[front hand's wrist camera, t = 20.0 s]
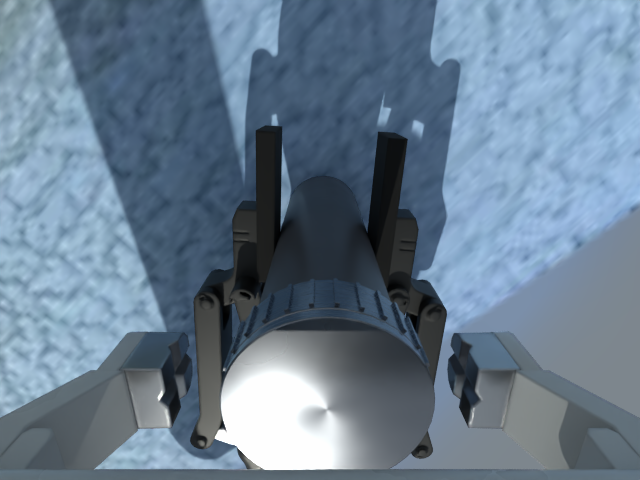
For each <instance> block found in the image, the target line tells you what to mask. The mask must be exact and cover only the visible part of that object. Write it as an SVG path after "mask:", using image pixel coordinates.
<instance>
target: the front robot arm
mask: <svg viewBox="0 0 640 480" xmlns="http://www.w3.org/2000/svg"><path fill="white" fill-rule="evenodd" d="M188 347H189V341H188V335H187V334H186V333H183V332H130V333H127V334H126V335H125V336H124V338H123V339H122V340H121V341H120V343H119V344H118V345H117V346H116V347H115V349H114V350H113V351H112V352H111V354H110V355H109V356H108V357H107V358H106V360H105V361H104V362H103V363H102V364H101V366H100V367H99V368H98V369H97V370H91V371H89V372H87V373H85V374H83V375H81V376H79V377H77V378H75V379H73V380H71V381H70V382H68V383H66V384H64V385H62V386H60V387H58V388H56V389H54V390H52V391H51V392H49V393H47V394H45V395H43V396H41V397H39V398H37V399H35V400H33V401H31V402H30V403H28V404H26V405H24V406H22V407H20V408H18V409H16V410H14V411H12V412H11V413H9V414H7V415H5V416H3V417H1V418H0V480H640V418H639V417H637V416H635V415H633V414H631V413H629V412H627V411H625V410H623V409H622V408H620V407H618V406H616V405H614V404H612V403H610V402H608V401H606V400H605V399H603V398H601V397H599V396H597V395H595V394H593V393H591V392H589V391H587V390H585V389H584V388H582V387H580V386H578V385H576V384H574V383H572V382H570V381H568V380H567V379H565V378H563V377H561V376H559V375H557V374H555V373H553V372H551V371H549V370H543V369H542V368H541V367H540V366H539V364H538V363H537V362H536V361H535V360H534V359H533V357H532V356H531V355H530V354H529V352H528V351H527V350H526V349H525V348H524V346H523V345H522V344H521V343H520V341H519V340H518V339H517V338H516V337H515V335H514V334H513V333H511V332H490V333H454V334H453V336H452V340H451V347H452V349H453V351H454V354H453V355H452V356H451V357H450V358H449V360H448V369H447V370H448V380H449V384H450V388H451V390H452V392H453V394H454V395H455V396H456V397H458V398H459V399H460V405H459V408H460V410H461V412H462V415H463V417H464V419H465V421H466V423H467V426H468V428H492V429H502V431H503V432H505V433H506V434H507V435H508V436H509V437H510V438H511V439H513V440H514V441H515V442H516V443H517V444H518V445H519V446H521V447H522V448H523V449H524V450H525V451H526V452H527V453H528V454H530V455H531V456H532V457H533V458H534V459H535V460H536V461H538V462H539V463H540V464H541V465H542V466H543V467H544V468H546V469H95V468H96V467H97V466H98V465H99V464H100V463H101V462H103V461H104V460H105V459H106V458H107V457H108V456H109V455H111V454H112V453H113V452H114V451H115V450H116V449H117V448H119V447H120V446H121V445H122V444H123V443H124V442H125V441H126V440H128V439H129V438H130V437H131V436H132V435H133V434H134V433H136V432H137V431H138V429H147V428H172V426H173V424H174V421H175V419H176V417H177V415H178V413H179V410H180V408H181V405H180V399H181V398H182V397H184V396H185V395H186V394H187V392H188V390H189V388H190V384H191V379H192V359H191V358H190V357H189V356H188V355H187V354H186V351H187V349H188Z"/></svg>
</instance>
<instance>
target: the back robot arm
mask: <svg viewBox="0 0 640 480" xmlns="http://www.w3.org/2000/svg"><path fill="white" fill-rule="evenodd" d="M407 140H408V139H407V138H404V137H402V136H400V135H398V134H396V133H390V132H378V139H377V148H376V157H375V167H374V176H373V186H372V195H371V204H370V214H369V223H368V233H367V234H368V237H369V240H370V243H371V246H372V249H373V252H374V255H375V257H376V260H377V263H378V266H379V269H380V272H381V275H382V278H383V281H384V284H385V287H386V289H387V292H388V295H389V298H390V301H391V302H392V303H393V302H396V303H397V305H398V307H399V310H400V311H401V312H402V313H403V315H405V313H406V317H409V318H410V320H411V323H412V325H413V328H414V330H415V333H417V334H418V337H419V339H420V342H421V344H422V346H423V349H424V351H425V354H426V356H427V359H428V361H429V364H430V366H429V367H428V370H429V372H430V375H431V377H432V380H433V386H434V382H435V376H436V371H437V365H438V360H439V355H440V349H441V344H442V338H443V333H444V327H445V322H446V317H447V311H446V309H445V307H444V305H443V304H442V302H441V300H440V298H439V297H438V295H437V293H436V291H435V290H434V288H433V287H432V285H431V283H430V282H428V281H427V280H416V279H413V278H411V274H412V268H413V261H414V255H415V249H416V241H417V236H418V226H417V222H416V218H415V217H414V216H413V215H412V213H411V212H410V211H409V210H407V209H398V207H399V200H400V192H401V185H402V177H403V170H404V163H405V155H406V148H407ZM281 163H282V126H266V125H265V126H264V127H262V128H260V129H258V130H256V201H242V203H241V204H240V205H239V207H238V208H237V210H236V212H235V215H234V217H233V220H232V223H233V255H234V268H231V269H228V270H225V271H224V270H221V269H217V270H214V271H212V272H211V273H210V274H209V276H208V277H207V279H206V280H205V282H204V284H203V285H202V287H201V288H200V290H199V292H198V293H197V295H196V296H195V298H194V319H195V336H196V354H197V372H198V389H199V407H200V415H199V417H198V420H197V422H196V425H195V428H194V430H193V433H192V436H191V439H190V442H191V444H192V445H193V446H194V447H196V448H198V449H207V448H209V447H210V446H211V445H212V443H213V441H214V439H217V440H220V441H223V442H226V443H229V444H232V445H235V444H234V442H233V441H232V440H231V438H230V436H229V434H228V433H227V431H226V429H225V426H224V423H223V421H222V417H221V411H220V398H219V396H220V386H221V383H222V380H223V377H224V375H225V372H226V371H223V367H224V364H225V361H226V359H227V356H228V353H229V350H230V347H231V345H232V304H233V303H235V305H236V309H237V312H238V316H239V319H240V323H241V321H242V320H243V321H245V320H246V319H247V317H248V316H249V314H250V313H251V310H252V307H253V306H254V305H256V306H258V305H259V303H260V300H261V296H262V293H263V289H264V286H265V283H266V279H267V276H268V273H269V269H270V266H271V262H272V259H273V256H274V252H275V249H276V245H277V242H278V239H279V235H280V222H281ZM235 446H236V445H235ZM237 451H238V455H239V457H240V458H241V460H242V461H243V462H244V463H245V465H246V468H247V469H263V468H262V467H260V466H259V465H257V464H255V463H254V462H253V461H251V460H250V459H249V458H248V457H246V456H245V455H244V454H243V453H242V452H241V451H240V450H239V449H238V448H237ZM432 452H433V447H432V444H431V441H430V437H429V434H428V431H427V433H426V434H425V436H424V438H423V439H422V441H421V442H420V443H419V445H418V446H417V447H416V448H415V449H414V450H413V451H412V452H411V453H412V455H413V456H414V457H416V458H419V459H421V458H426V457H428V456H430V455H431V454H432Z"/></svg>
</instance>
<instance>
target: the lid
mask: <svg viewBox="0 0 640 480" xmlns="http://www.w3.org/2000/svg"><path fill="white" fill-rule="evenodd" d="M429 366H430V364H429V361H428V359H427V356H426V354H425V351H424V349H423V346H422V344H421V342H420V339H419V337H418V334H417V333H415V330H414V328H413V325H412V323H411V320H410V318H409V317H406V318H405V316H404V315H403V313H402V312H401V311H400V310H399V307H398V305H397V303H396V302H393V303H392V302H391V301H389V300H388V299H387V298H385V297H384V296H382V295H381V293H380V291H378V290H376V291H373V290H371V289H369V288H367V287H365V286H361V285H360V283H358V282H356V283H351V282H346V281H341V280H338V279H337V278H333V280H315V279H310V281H307V282H302V283H298V284H295V285H292V284H289V285H288V287H286V288H284V289H282V290H279V291H277V292H276V293H274V294H272V293H270V294H268V297H267V298H266V299H265V300H264V301H262V302H261V303H260V304H259V305H258V306H256V305H254V306H253V307H252V310H251V313H250V314H249V316H248V317H247V319H246V320H245V321H243V320H242V321H241V323H240V326H239V328H238V331H237V334H236V337H234V339H233V342H232V345H231V347H230V350H229V353H228V356H227V359H226V361H225V364H224V367H223V371H226V372H225V375H224V377H223V380H222V383H221V386H220V396H219V398H220V411H221V417H222V421H223V423H224V426H225V429H226V431H227V433H228V434H229V436H230V438H231V440H232V441H233V442H234V444H235V445H236V446H237V448H238V449H239V450H240V451H241V452H242V453H243V454H244V455H245V456H246V457H248V458H249V459H250V460H251V461H253V462H254V463H255V464H257V465H259V466H260V467H262V468H263V469H390V468H392V467H393V466H395V465H397V464H398V463H399V462H401V461H402V460H403V459H405V458H406V457H407V456H408V455H409V454H410V453H411V452H412V451H413V450H414V449H415V448H416V447H417V446H418V445H419V443H420V442H421V441H422V439H423V438H424V436H425V434H426V433H427V431H428V428H429V426H430V424H431V421H432V417H433V413H434V406H435V393H434V386H433V380H432V377H431V375H430V372H429V370H428V367H429Z"/></svg>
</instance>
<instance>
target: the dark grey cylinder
mask: <svg viewBox="0 0 640 480" xmlns="http://www.w3.org/2000/svg"><path fill="white" fill-rule="evenodd" d="M333 278H337V279H338V280H341V281H346V282H351V283H356V282H358V283H360V285H361V286H365V287H367V288H369V289H371V290H373V291H376V290H378V291H380V293H381V295H382V296H384V297H385V298H387V299H388V300H389V301H390V298H389V295H388V292H387V289H386V287H385V284H384V281H383V278H382V275H381V272H380V269H379V266H378V263H377V260H376V257H375V255H374V252H373V249H372V246H371V243H370V240H369V237H368V234H367V231H366V228H365V225H364V223H363V220H362V217H361V214H360V211H359V208H358V205H357V202H356V199H355V197H354V195H353V193H352V191H351V190H350V188H349V187H348V186H347V185H346V184H344V183H343V182H342V181H340V180H338V179H336V178H333V177H328V176H318V177H313V178H310V179H308V180H306V181H304V182H303V183H301V184H300V185H299V186H298V187H297V188H296V189H295V191H294V192H293V194H292V196H291V198H290V202H289V205H288V208H287V212H286V215H285V218H284V222H283V225H282V229H281V232H280V235H279V239H278V242H277V245H276V249H275V252H274V256H273V259H272V262H271V266H270V269H269V273H268V276H267V279H266V283H265V286H264V289H263V293H262V296H261V300H260V303H261V302H262V301H264V300H265V299H266V298H267V297H268V294H270V293H272V294H274V293H276V292H277V291H279V290H282V289H284V288H286V287H288V285H289V284H292V285H295V284H298V283H302V282H307V281H310V279H315V280H333ZM260 303H259V304H260Z"/></svg>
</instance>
